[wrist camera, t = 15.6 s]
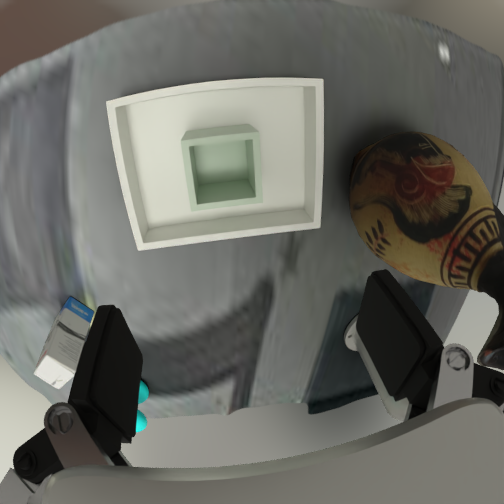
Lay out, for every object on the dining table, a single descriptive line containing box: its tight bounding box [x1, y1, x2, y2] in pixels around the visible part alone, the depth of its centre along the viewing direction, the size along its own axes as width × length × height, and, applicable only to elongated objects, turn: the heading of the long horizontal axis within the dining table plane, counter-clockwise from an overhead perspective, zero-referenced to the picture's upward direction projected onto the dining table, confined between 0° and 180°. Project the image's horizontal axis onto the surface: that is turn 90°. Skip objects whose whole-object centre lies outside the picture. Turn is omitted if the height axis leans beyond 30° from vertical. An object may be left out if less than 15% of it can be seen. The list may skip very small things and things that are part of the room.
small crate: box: [181, 124, 263, 212], centre depth 26 cm, size 6×6×6 cm
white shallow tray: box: [106, 78, 324, 251], centre depth 27 cm, size 20×16×4 cm
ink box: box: [34, 296, 94, 389], centre depth 33 cm, size 9×5×12 cm, turn 130°
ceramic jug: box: [349, 132, 504, 370], centre depth 21 cm, size 17×15×30 cm
